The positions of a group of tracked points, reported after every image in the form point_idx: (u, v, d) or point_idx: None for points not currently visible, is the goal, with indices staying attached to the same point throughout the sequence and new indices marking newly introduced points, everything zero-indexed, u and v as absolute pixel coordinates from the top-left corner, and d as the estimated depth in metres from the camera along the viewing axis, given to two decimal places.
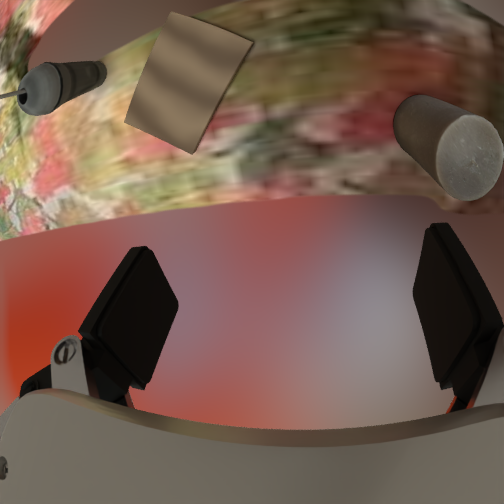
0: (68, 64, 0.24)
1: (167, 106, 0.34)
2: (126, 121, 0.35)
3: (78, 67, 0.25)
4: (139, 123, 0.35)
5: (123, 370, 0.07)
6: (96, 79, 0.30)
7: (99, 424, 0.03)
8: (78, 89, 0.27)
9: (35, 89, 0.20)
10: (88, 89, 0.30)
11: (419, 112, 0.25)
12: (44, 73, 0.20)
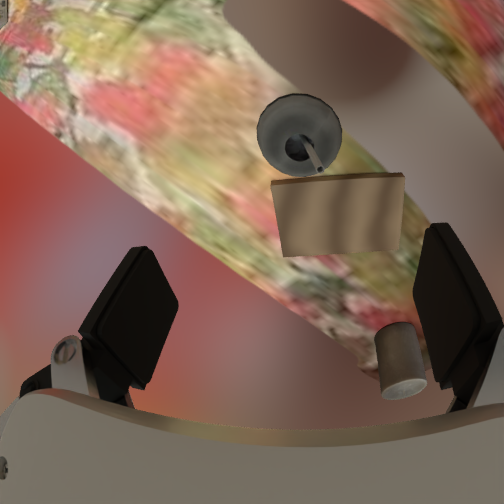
0: None
1: (312, 219, 0.38)
2: (273, 187, 0.36)
3: None
4: (280, 202, 0.38)
5: (123, 370, 0.07)
6: None
7: (99, 424, 0.03)
8: None
9: None
10: None
11: (405, 348, 0.46)
12: (336, 153, 0.21)
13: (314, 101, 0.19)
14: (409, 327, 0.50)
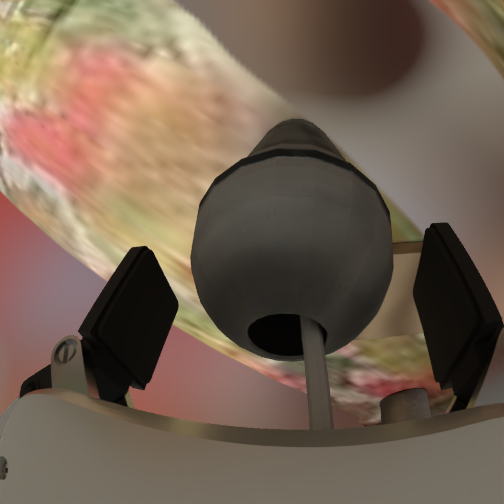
0: None
1: None
2: None
3: None
4: None
5: (123, 370, 0.07)
6: None
7: (99, 424, 0.03)
8: None
9: None
10: None
11: None
12: None
13: (338, 181, 0.07)
14: (421, 394, 0.38)
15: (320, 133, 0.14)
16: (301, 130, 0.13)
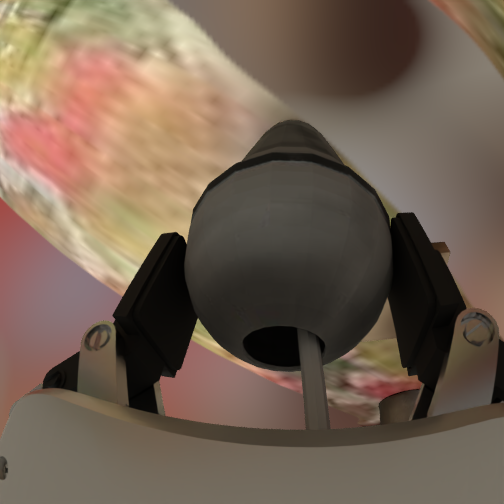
0: None
1: None
2: None
3: None
4: None
5: (156, 356, 0.08)
6: None
7: (99, 424, 0.03)
8: None
9: None
10: None
11: None
12: None
13: (336, 186, 0.07)
14: None
15: (317, 135, 0.14)
16: (298, 132, 0.13)
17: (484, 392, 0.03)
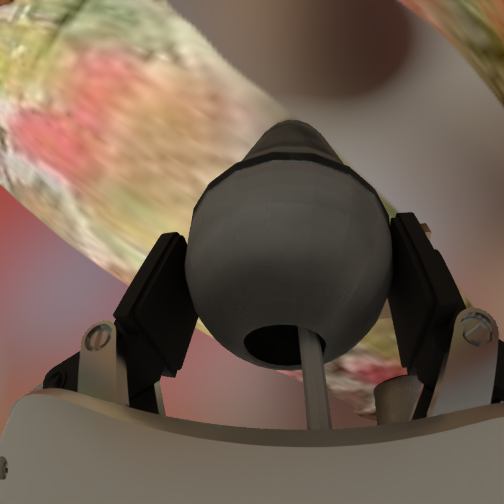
0: None
1: None
2: None
3: None
4: None
5: (157, 356, 0.08)
6: None
7: (99, 424, 0.03)
8: None
9: None
10: None
11: (409, 407, 0.37)
12: None
13: (336, 186, 0.07)
14: (414, 380, 0.41)
15: (317, 135, 0.14)
16: (297, 132, 0.13)
17: (484, 392, 0.03)
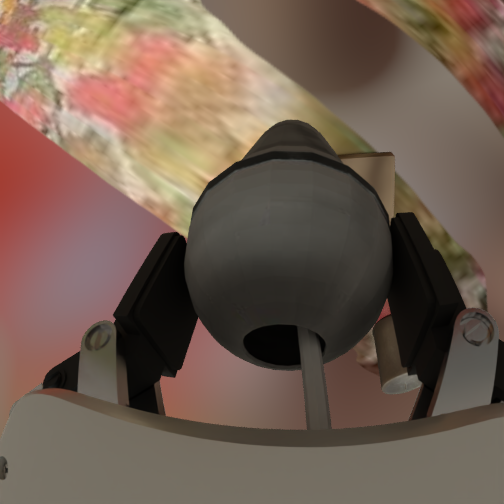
0: None
1: None
2: None
3: None
4: None
5: (156, 356, 0.08)
6: None
7: (99, 424, 0.03)
8: None
9: None
10: None
11: None
12: None
13: (336, 185, 0.07)
14: None
15: (317, 134, 0.14)
16: (297, 131, 0.13)
17: (484, 392, 0.03)
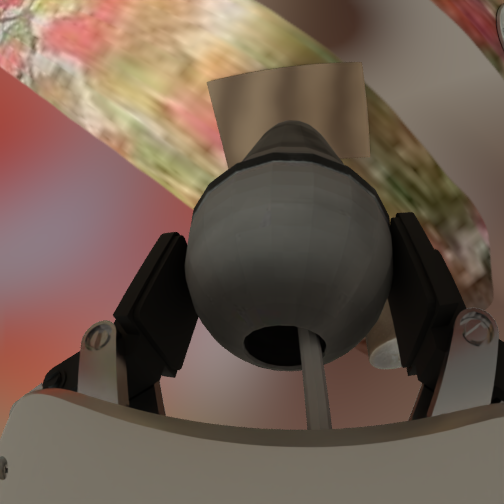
0: None
1: (257, 118, 0.31)
2: (209, 84, 0.29)
3: None
4: (218, 100, 0.30)
5: (157, 356, 0.08)
6: None
7: (99, 424, 0.03)
8: None
9: None
10: None
11: None
12: None
13: (337, 186, 0.07)
14: None
15: (317, 135, 0.14)
16: (297, 132, 0.13)
17: (484, 392, 0.03)
